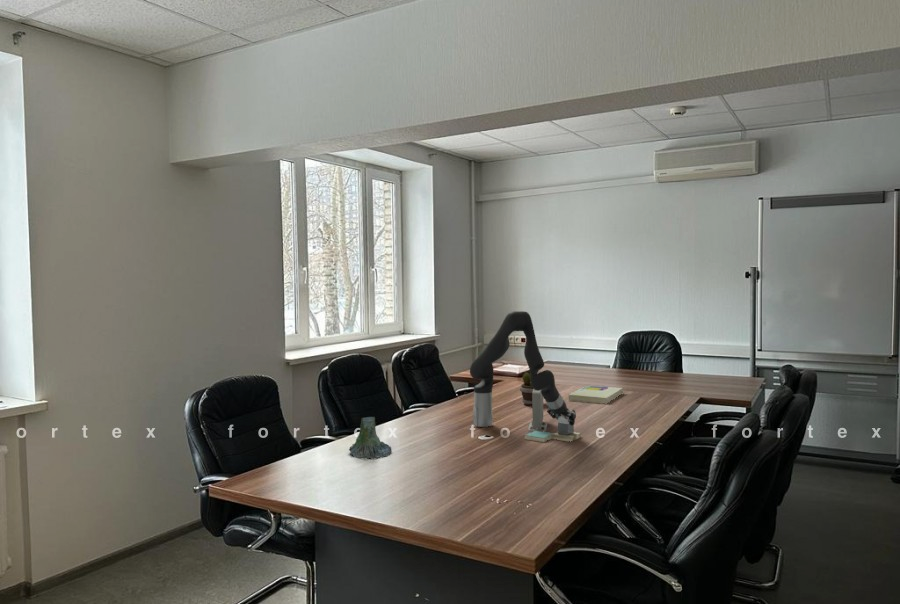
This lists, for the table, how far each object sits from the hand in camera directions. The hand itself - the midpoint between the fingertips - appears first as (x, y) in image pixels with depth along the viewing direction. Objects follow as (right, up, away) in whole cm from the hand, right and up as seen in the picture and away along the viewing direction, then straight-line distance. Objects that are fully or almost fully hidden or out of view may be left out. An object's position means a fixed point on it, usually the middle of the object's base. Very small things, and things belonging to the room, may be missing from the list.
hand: (567, 422), depth 299 cm
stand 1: (-13, -7, -1) cm, 15 cm away
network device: (-11, -6, +21) cm, 25 cm away
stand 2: (-1, -7, -1) cm, 7 cm away
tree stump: (-91, -10, -19) cm, 93 cm away
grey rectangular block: (-1, -5, -1) cm, 5 cm away
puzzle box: (+36, -3, +95) cm, 102 cm away
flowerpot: (-6, -4, +77) cm, 78 cm away
